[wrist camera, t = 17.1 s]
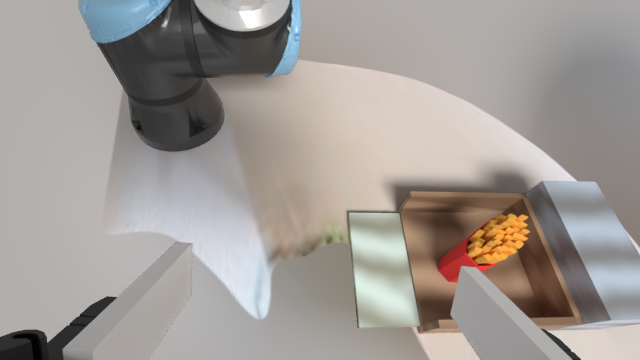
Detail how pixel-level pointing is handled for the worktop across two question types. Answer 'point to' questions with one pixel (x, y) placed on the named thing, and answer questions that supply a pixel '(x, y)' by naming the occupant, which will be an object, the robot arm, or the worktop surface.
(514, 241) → the french fries
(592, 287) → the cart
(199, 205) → the worktop surface
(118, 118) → the worktop surface
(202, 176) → the worktop surface
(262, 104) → the worktop surface
